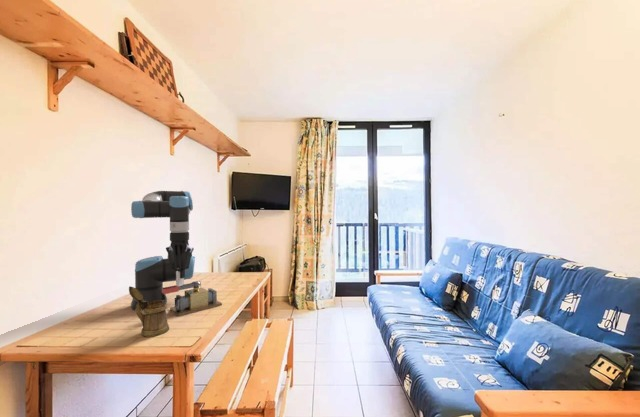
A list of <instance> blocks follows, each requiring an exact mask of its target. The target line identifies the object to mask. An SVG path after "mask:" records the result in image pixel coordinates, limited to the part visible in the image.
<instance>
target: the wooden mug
mask: <svg viewBox="0 0 640 417" xmlns="http://www.w3.org/2000/svg"><path fill="white" fill-rule="evenodd" d="M128 292H129V296H131V298H132V299H134V300H136V301H137V302H138V303H137V305H136V310H135V314H136V316H137V318H138V319H139V320H140V322H141V325H142V328H141V332H140V333H141V335H142V336H143V337H147V338H148V337H156V336H160V335H163V334H164V333H167V332H168V331H169V330H170V325H169V322H168V317H167V312H166V311H167V310H166V309H167V306H166V304H164V300H157V301H152V302H150V303H148V301H144V299H143V295H142V293H141V292H140V291H139V290H138V289H136V288H135V287H133V286H129V287H128ZM142 308H145V309H144V310H143V313H142V310H141V309H142Z"/></svg>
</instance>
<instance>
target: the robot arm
mask: <svg viewBox="0 0 640 417" xmlns="http://www.w3.org/2000/svg"><path fill="white" fill-rule="evenodd" d="M193 204H194V203H193V198H192V194H191V192H190V191H187V190H186V191H183V190H179V191H178V190H176V191H175V190H173V191H172V190H157V191H152V192H150V193H147V194H145V195H144V196H143V197H142V200H135V201H132V203H131V210H130V211H131V217H132V218H134V219H148V218H149V219H150V218H151V219H152V218H153V219H154V218H169V231H170V232H169V241H170V244H169V246H167V247H166V248H165V250H166V252H167V258H163V256H162V255H158V256H157V255H156V256H150V257H146V258H142V259H138V261H136V262H135V263H134V265H135V266H134V275H135V276H134V279H135V281H134V282H135V285H134V286H135V287H134V288H136V289H138V290H139V291H140V292H141V293H142V295H143V299H144V301H148V303H150V302H152V301H157V300H164V304H165V305H166V304H167V303H168V297H167V294H163V293H162V288H164V285H163V283H167V282H176V284H175V285H176V286H178V287H179V286H182V285H184V284H185V282H184V281H185V280H189V279H190V280H191V279H192V278H193V277H194V272H195V260H196V256H195V255H193V252H194V247H191V246H190V243H189V240H190V232H189V230H190V220H189V217H190V216H189V215H190V213H191V211H193V209H194V208H193V207H194V205H193ZM137 303H138V302H137V301H136V300H134V299H133V298H132V299H131V303H130V308H131V310H133V311H134V310H135V311H136V305H137ZM144 309H145V308H142V309H141V311H144Z"/></svg>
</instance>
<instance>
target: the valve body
mask: <svg viewBox="0 0 640 417" xmlns="http://www.w3.org/2000/svg"><path fill="white" fill-rule="evenodd" d="M217 293H218V292H217V291H216V289H213V288H211V287H210V288H207V289H205V288H204V287H201V286H200V287H197V288H190V289H188V290H187V289H185V290H184V295H180V294H176V295H175V297H174V306H170V307H169V311H171V312H172V313H173V314H174V315H176V316H177V317H181V316H185V315H189V313H190V314H192V313H193V312H194V313H197V312H201V311H204V310H209V309H213V308H216V307H220V306H223V302H221V301H219V300H218V299H217V298H218V296H217V295H218V294H217ZM194 313H193V314H194Z"/></svg>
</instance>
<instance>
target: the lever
mask: <svg viewBox="0 0 640 417" xmlns="http://www.w3.org/2000/svg"><path fill="white" fill-rule="evenodd" d="M201 282H202V281H200V280H198V281H197V280H196V281H192V282H190V283H184V285H182V286H179V287H178V286H176V284H175V285H171V286H170V285H169V286H165V287H163V288H162V293H163V294H166V295H167V294H169V295H170V294H172V293H177V292H180V291H183V290H184V291H185V290H187V289H188V290H189V289H193V288H197V287H199V288H201V286H202V283H201Z"/></svg>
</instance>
